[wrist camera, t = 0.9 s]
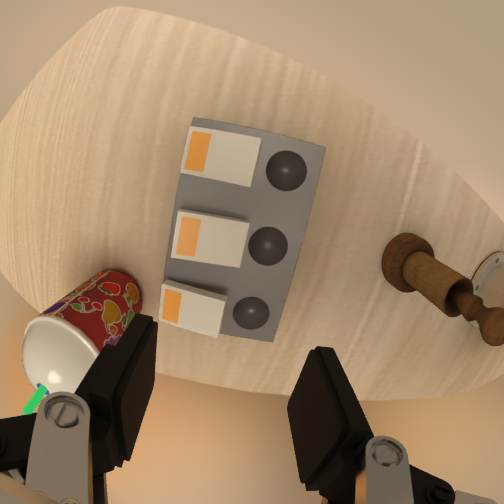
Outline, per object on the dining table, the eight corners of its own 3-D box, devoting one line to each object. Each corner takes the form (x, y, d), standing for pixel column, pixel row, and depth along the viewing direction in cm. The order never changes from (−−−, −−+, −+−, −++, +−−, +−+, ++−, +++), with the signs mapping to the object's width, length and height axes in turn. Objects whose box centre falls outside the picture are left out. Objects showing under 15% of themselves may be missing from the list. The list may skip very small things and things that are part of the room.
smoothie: (80, 263, 30) (-34, 356, 11) (142, 255, 30) (37, 369, 11) (100, 325, 32) (21, 440, 13) (159, 322, 33) (99, 462, 13)
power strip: (316, 149, 28) (327, 147, 24) (269, 325, 33) (273, 344, 29) (198, 122, 26) (192, 116, 23) (166, 305, 32) (158, 322, 28)
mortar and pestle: (374, 248, 31) (479, 326, 14) (417, 223, 30) (533, 277, 13) (389, 294, 33) (477, 385, 15) (429, 270, 32) (527, 340, 15)
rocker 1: (262, 140, 23) (261, 138, 21) (252, 186, 24) (250, 187, 23) (194, 128, 23) (189, 125, 22) (184, 172, 24) (179, 172, 23)
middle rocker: (247, 220, 26) (249, 223, 24) (237, 262, 27) (239, 268, 25) (178, 208, 24) (178, 211, 23) (171, 252, 25) (170, 257, 24)
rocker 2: (227, 296, 26) (224, 301, 25) (220, 332, 28) (217, 339, 26) (166, 279, 27) (161, 283, 26) (162, 315, 28) (157, 321, 27)
